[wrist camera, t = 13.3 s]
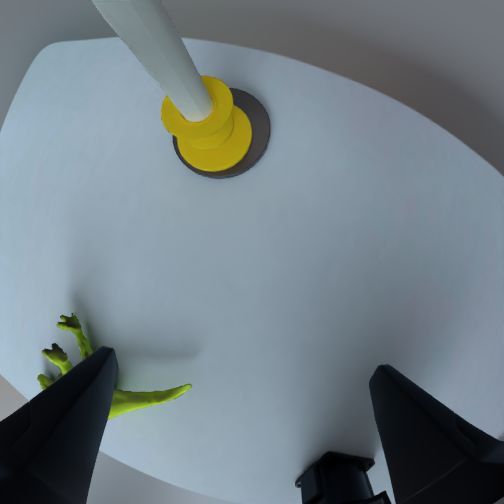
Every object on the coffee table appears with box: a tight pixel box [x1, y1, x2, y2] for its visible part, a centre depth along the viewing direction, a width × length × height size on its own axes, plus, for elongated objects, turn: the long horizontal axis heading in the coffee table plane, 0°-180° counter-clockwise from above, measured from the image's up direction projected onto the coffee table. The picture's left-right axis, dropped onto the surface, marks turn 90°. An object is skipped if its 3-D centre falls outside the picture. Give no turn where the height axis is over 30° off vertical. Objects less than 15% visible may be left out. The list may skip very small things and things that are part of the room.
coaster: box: [173, 88, 270, 179], centre depth 18 cm, size 7×7×1 cm
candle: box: [91, 0, 252, 172], centre depth 10 cm, size 5×5×16 cm
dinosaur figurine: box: [37, 313, 192, 419], centre depth 18 cm, size 20×10×6 cm, turn 118°
